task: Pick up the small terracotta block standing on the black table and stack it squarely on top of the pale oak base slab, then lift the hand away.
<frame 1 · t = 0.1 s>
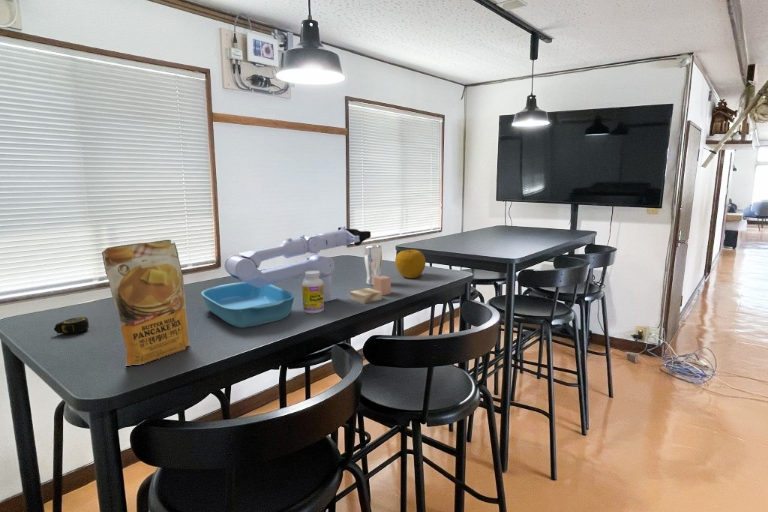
hand: (363, 233, 168), 22 cm above the table, fingers open, 7 cm apart
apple: (410, 277, 193), on the table
oak base: (366, 300, 160), on the table
casserole dish: (248, 314, 145), on the table
beer glass: (373, 283, 182), on the table
supplement bottle: (313, 311, 146), on the table
tape measure: (72, 333, 130), on the table
clay block: (382, 293, 167), on the table
pancake mix bag: (157, 356, 112), on the table
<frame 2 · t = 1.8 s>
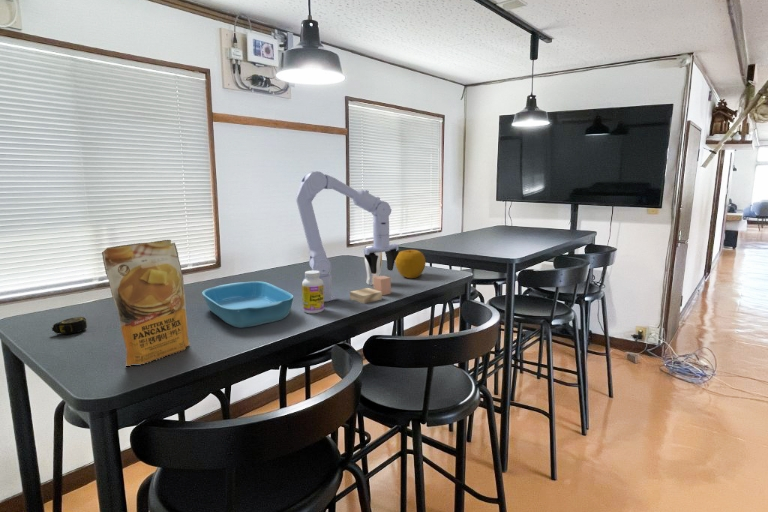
hand: (382, 271, 165), 8 cm above the table, fingers open, 7 cm apart
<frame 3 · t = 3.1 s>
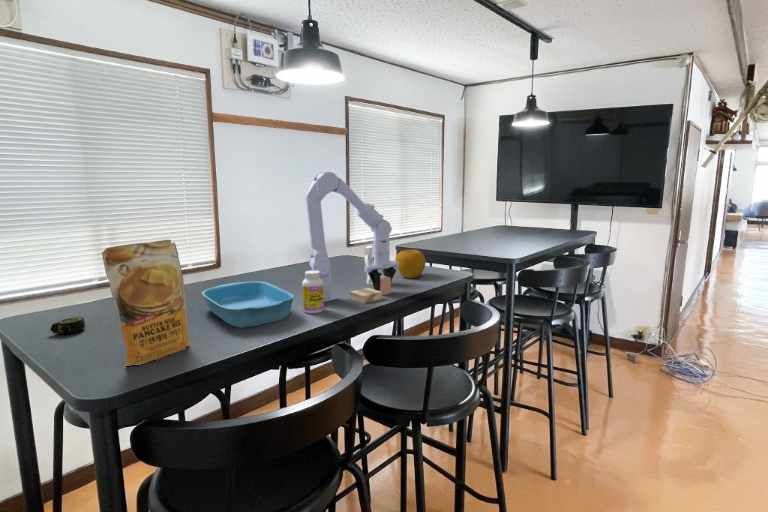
hand: (382, 289, 166), 2 cm above the table, fingers closed on clay block, 4 cm apart
clay block: (382, 293, 167), on the table, touching gripper
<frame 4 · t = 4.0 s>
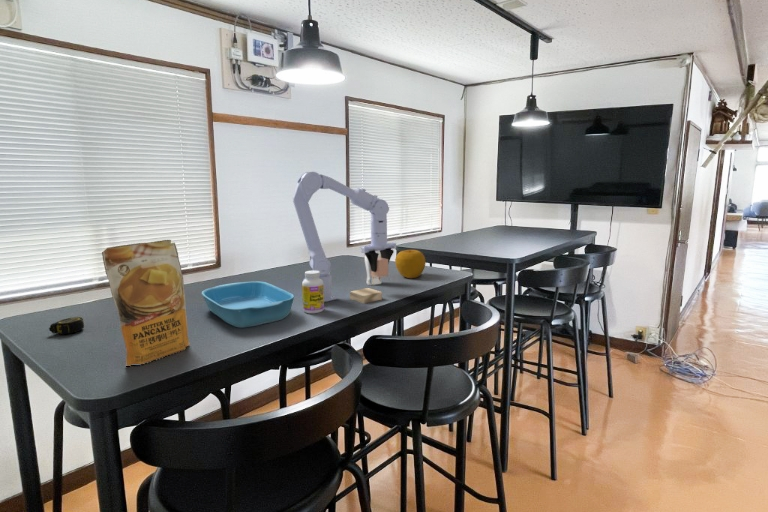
hand: (379, 270, 164), 9 cm above the table, fingers closed on clay block, 4 cm apart
clay block: (379, 275, 164), point 7 cm above the table, touching gripper
when the fingers open (6 cm above the table, at t = 5.5 s): clay block drops 1 cm, resting on oak base.
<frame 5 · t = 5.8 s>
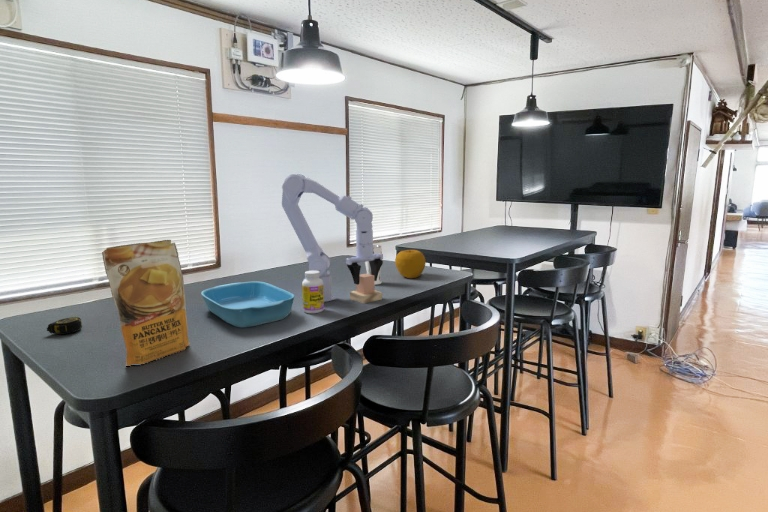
hand: (365, 282, 158), 6 cm above the table, fingers open, 7 cm apart
oak base: (366, 300, 160), on the table, touching clay block
clay block: (365, 292, 159), point 2 cm above the table, touching oak base
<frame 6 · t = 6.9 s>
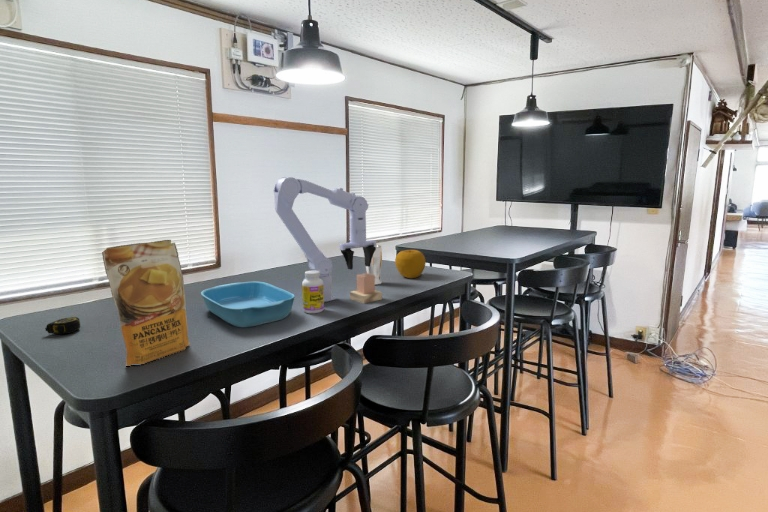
hand: (358, 267, 164), 10 cm above the table, fingers open, 7 cm apart
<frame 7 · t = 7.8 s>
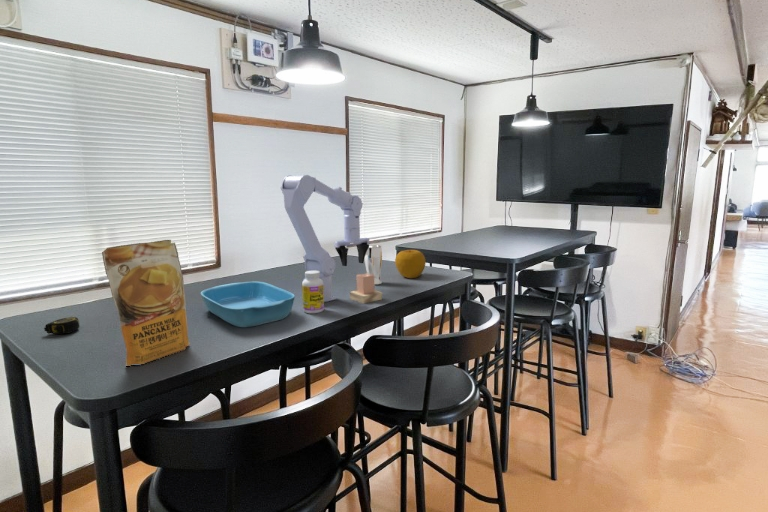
hand: (352, 264, 170), 10 cm above the table, fingers open, 7 cm apart
oak base: (366, 300, 159), on the table
clay block: (365, 291, 159), point 3 cm above the table
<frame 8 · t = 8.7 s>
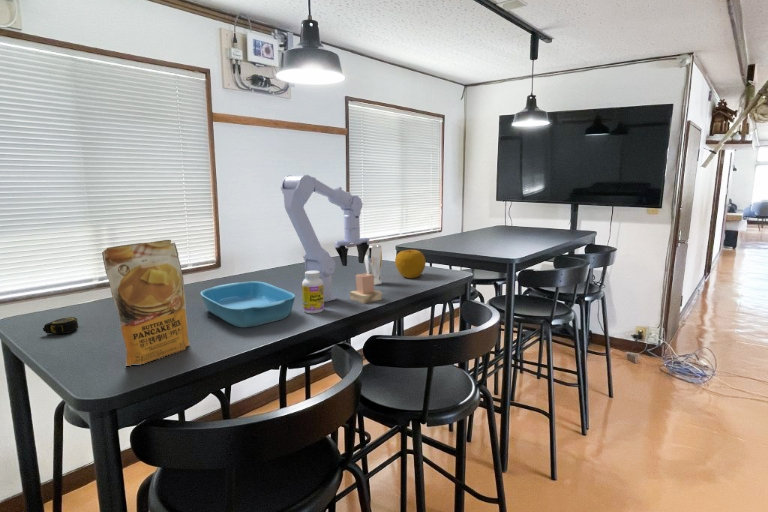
hand: (352, 264, 170), 10 cm above the table, fingers open, 7 cm apart
oak base: (366, 300, 159), on the table, touching clay block
clay block: (365, 291, 159), point 3 cm above the table, touching oak base
at the end: clay block 0.2 cm off-centre on the oak base, point 3.1 cm above the oak base's base; clay block tilted 2°; the gripper is holding nothing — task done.
